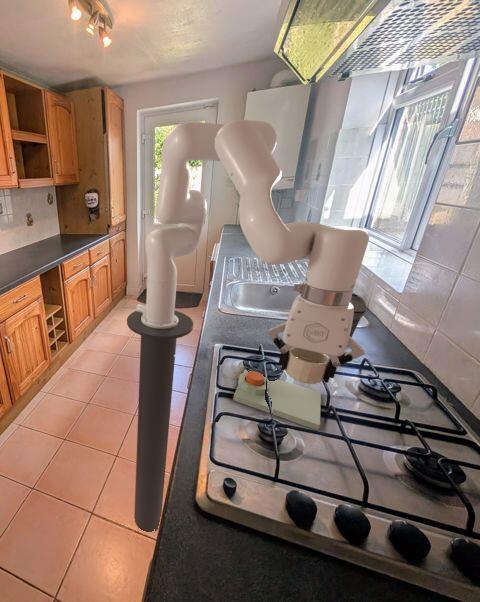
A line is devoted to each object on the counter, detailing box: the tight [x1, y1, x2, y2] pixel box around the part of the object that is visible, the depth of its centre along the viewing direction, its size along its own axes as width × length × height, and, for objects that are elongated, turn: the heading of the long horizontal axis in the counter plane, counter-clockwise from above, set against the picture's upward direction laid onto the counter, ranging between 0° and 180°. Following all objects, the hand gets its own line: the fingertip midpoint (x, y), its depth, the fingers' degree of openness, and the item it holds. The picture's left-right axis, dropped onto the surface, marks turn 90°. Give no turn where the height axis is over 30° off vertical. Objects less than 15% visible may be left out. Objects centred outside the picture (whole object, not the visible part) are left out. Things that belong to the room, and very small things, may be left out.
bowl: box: [284, 347, 330, 385], centre depth 63 cm, size 7×7×5 cm
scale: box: [232, 369, 322, 431], centre depth 68 cm, size 16×12×3 cm
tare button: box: [246, 370, 264, 386], centre depth 70 cm, size 4×4×2 cm
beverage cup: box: [350, 293, 367, 337], centre depth 87 cm, size 7×7×20 cm
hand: (304, 372), depth 63 cm, fingers closed on bowl, 6 cm apart
